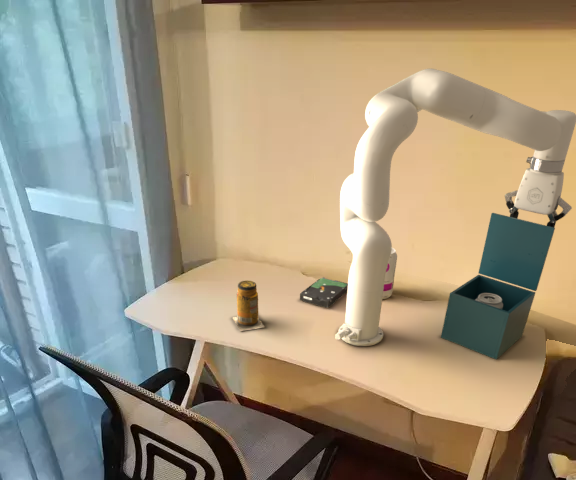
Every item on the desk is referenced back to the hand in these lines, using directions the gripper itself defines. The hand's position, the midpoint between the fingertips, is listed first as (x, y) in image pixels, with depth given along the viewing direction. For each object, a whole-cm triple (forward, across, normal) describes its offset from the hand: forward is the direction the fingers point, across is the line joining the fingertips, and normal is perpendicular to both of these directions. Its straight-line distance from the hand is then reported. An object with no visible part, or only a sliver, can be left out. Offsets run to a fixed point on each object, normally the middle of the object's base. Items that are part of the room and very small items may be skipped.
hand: (529, 231), depth 147 cm
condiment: (+26, -54, -55) cm, 81 cm away
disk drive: (+27, -49, -26) cm, 61 cm away
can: (+26, 0, -16) cm, 31 cm away
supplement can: (+27, -37, -13) cm, 47 cm away
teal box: (+27, 0, -15) cm, 31 cm away
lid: (+4, 0, -7) cm, 8 cm away
